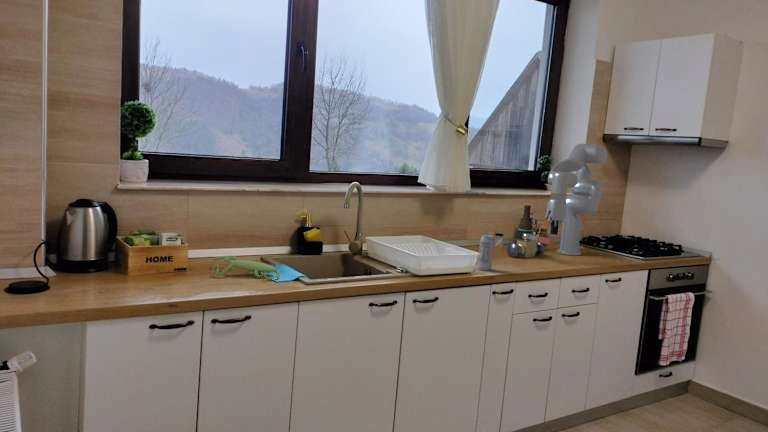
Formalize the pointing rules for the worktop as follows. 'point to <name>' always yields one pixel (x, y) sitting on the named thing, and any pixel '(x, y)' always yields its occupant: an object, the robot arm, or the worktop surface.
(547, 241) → the lever
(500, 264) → the worktop surface
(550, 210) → the robot arm
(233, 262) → the figurine
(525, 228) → the beer bottle
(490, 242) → the energy drink can
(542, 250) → the valve
